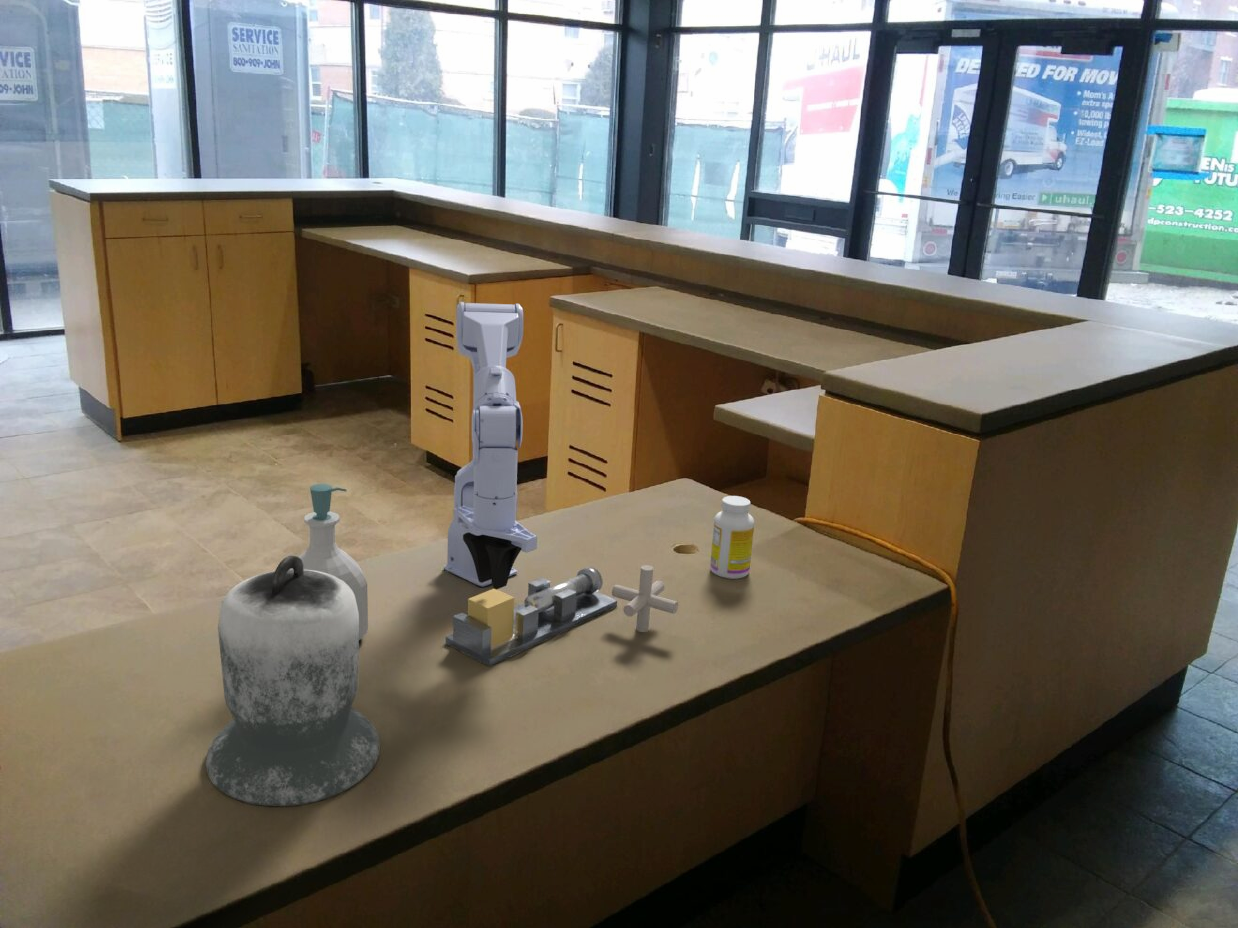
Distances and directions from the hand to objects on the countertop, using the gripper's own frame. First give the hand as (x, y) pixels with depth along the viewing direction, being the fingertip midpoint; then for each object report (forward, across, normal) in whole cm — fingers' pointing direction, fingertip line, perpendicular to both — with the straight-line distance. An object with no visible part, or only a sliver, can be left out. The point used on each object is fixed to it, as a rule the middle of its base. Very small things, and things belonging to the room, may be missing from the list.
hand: (492, 583), depth 149 cm
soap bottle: (+10, -17, -16) cm, 25 cm away
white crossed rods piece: (+10, +12, +19) cm, 25 cm away
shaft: (+8, 0, +15) cm, 17 cm away
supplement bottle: (+10, +9, +46) cm, 48 cm away
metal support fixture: (+9, 0, +9) cm, 13 cm away
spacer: (+8, 0, 0) cm, 8 cm away
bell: (+10, +4, -35) cm, 36 cm away
